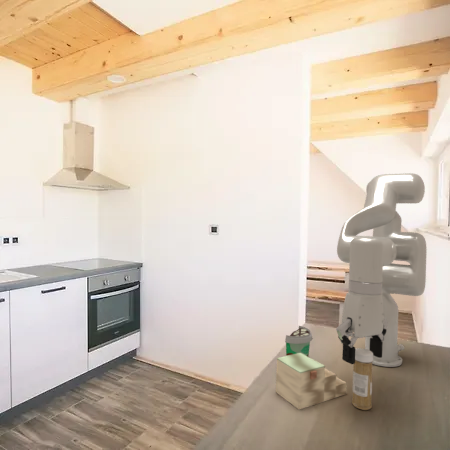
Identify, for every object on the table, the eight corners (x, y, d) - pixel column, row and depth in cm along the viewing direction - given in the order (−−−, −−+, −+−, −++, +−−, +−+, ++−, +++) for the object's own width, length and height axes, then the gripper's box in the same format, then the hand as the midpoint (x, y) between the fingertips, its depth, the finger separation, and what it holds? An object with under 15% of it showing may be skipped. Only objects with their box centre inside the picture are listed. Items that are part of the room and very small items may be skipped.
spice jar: (375, 407, 82) (377, 352, 82) (364, 412, 80) (365, 356, 79) (358, 398, 86) (360, 346, 86) (347, 403, 84) (349, 349, 83)
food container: (304, 373, 99) (305, 339, 99) (284, 368, 103) (285, 335, 102) (316, 359, 110) (317, 328, 110) (298, 354, 113) (299, 325, 113)
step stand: (320, 379, 96) (321, 347, 96) (347, 394, 88) (348, 360, 88) (275, 392, 88) (276, 358, 88) (300, 410, 80) (301, 373, 80)
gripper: (374, 284, 90) (372, 348, 90) (327, 287, 81) (324, 358, 81) (401, 289, 83) (399, 358, 83) (353, 293, 75) (350, 371, 75)
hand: (362, 358), depth 82 cm, fingers open, 9 cm apart
